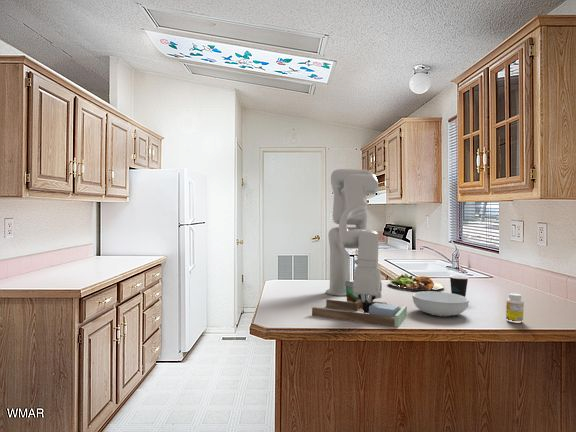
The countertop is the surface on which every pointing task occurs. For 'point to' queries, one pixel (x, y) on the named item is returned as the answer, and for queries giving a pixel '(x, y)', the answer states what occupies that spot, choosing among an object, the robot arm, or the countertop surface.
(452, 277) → the dixie cup
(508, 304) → the supplement bottle
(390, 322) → the channel walls
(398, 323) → the end wall
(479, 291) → the countertop surface
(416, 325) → the countertop surface
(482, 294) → the countertop surface
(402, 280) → the plate of food
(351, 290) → the food container
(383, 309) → the block
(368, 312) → the robot arm
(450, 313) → the serving bowl
